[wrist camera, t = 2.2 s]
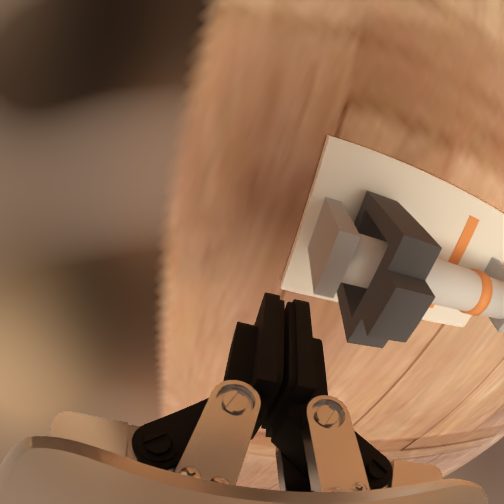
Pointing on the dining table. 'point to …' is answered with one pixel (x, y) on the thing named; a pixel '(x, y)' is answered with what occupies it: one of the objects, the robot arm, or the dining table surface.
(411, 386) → the dining table surface
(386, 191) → the rail
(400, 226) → the dark grey notched block
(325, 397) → the robot arm
